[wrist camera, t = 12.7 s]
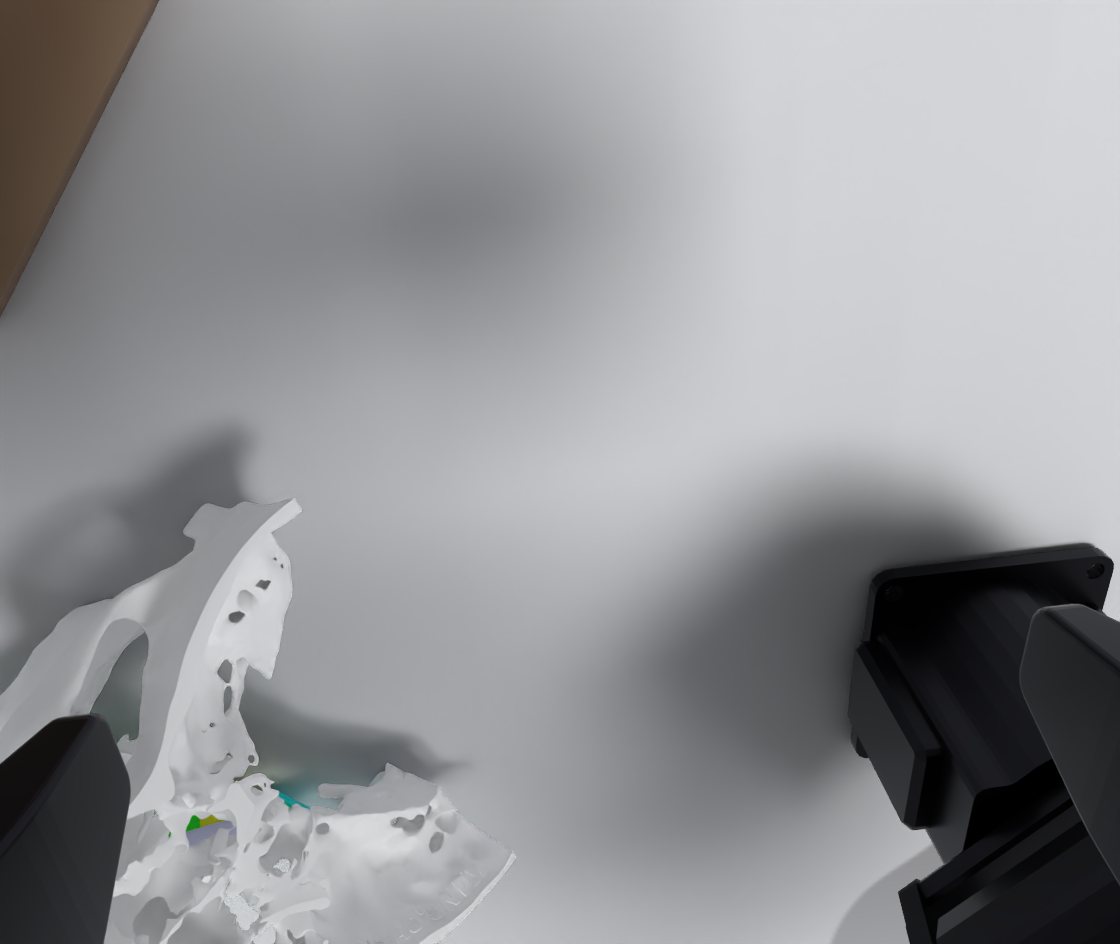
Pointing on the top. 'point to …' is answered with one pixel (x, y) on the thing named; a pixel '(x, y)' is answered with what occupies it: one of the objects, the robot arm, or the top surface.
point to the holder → (53, 105)
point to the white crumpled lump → (243, 769)
